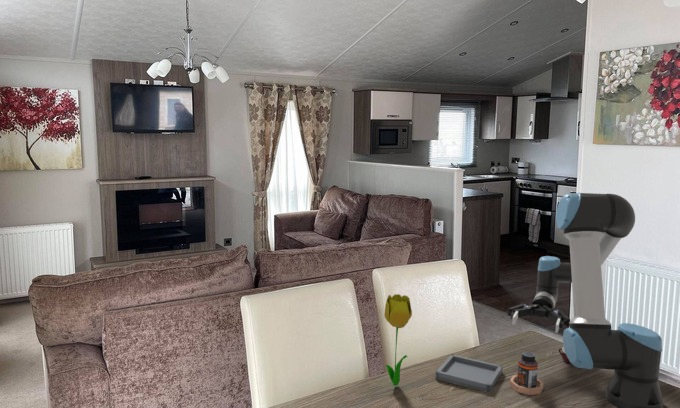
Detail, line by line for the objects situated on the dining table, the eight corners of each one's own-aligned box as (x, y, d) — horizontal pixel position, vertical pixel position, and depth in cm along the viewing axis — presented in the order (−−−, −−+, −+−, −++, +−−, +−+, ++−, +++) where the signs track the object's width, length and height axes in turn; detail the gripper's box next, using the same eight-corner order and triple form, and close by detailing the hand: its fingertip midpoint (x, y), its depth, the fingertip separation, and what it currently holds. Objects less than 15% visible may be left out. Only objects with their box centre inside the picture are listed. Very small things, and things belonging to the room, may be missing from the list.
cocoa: (555, 358, 189) (556, 326, 188) (570, 356, 191) (571, 324, 190) (572, 368, 180) (573, 335, 179) (588, 366, 182) (589, 333, 180)
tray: (502, 372, 176) (502, 365, 176) (490, 392, 163) (490, 385, 162) (451, 360, 185) (451, 354, 185) (435, 378, 172) (435, 371, 171)
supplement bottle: (512, 384, 168) (514, 351, 167) (526, 381, 171) (528, 348, 169) (526, 393, 163) (528, 359, 161) (540, 389, 165) (542, 355, 164)
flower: (378, 389, 164) (380, 298, 160) (388, 378, 172) (390, 291, 167) (403, 395, 160) (406, 302, 156) (412, 384, 168) (415, 295, 163)
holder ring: (544, 384, 169) (545, 379, 168) (539, 397, 160) (539, 392, 160) (514, 377, 173) (514, 372, 173) (507, 389, 165) (508, 384, 165)
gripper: (579, 321, 185) (574, 343, 167) (507, 308, 197) (495, 328, 178) (581, 301, 184) (576, 321, 166) (508, 289, 196) (497, 307, 177)
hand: (534, 324), depth 172 cm, fingers open, 13 cm apart
